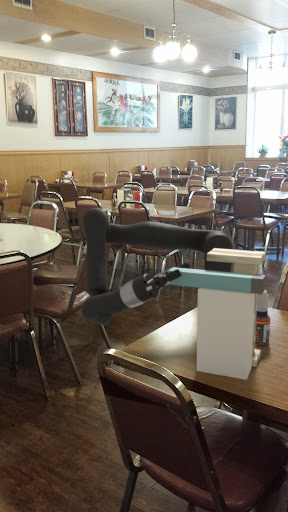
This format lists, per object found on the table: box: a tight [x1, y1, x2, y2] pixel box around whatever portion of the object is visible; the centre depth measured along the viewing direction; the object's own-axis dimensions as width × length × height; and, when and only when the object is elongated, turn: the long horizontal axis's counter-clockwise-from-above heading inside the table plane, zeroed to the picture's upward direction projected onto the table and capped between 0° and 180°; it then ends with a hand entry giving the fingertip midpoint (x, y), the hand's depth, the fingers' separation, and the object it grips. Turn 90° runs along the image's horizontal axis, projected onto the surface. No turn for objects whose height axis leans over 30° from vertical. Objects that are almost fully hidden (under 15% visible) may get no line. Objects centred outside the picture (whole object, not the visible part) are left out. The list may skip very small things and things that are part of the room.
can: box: [257, 289, 270, 311], centre depth 167 cm, size 8×8×12 cm
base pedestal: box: [196, 288, 255, 381], centre depth 129 cm, size 7×14×24 cm, turn 67°
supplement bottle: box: [255, 307, 271, 346], centre depth 149 cm, size 6×6×11 cm
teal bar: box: [167, 266, 266, 294], centre depth 127 cm, size 4×26×4 cm, turn 67°
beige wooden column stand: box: [207, 248, 266, 368], centre depth 136 cm, size 8×15×32 cm, turn 67°
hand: (184, 268), depth 130 cm, fingers open, 8 cm apart
